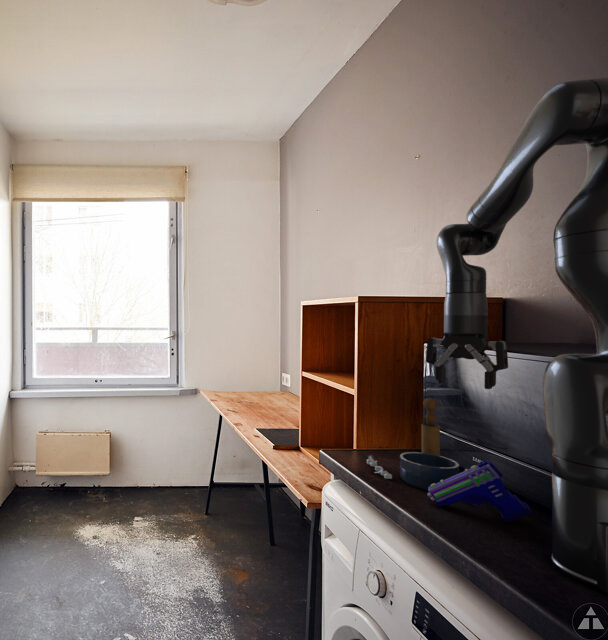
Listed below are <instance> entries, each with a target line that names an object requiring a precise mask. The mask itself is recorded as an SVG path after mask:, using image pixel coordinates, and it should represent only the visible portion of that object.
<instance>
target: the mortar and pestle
mask: <svg viewBox="0 0 608 640" xmlns="http://www.w3.org/2000/svg"><path fill="white" fill-rule="evenodd" d="M422 405H423V407H424V408H425V410H426V414H425V415H424V416H425V420H426V422H423V423H421V424H420V425H421V453H427V454H433V455H438V456H441V426H440V425H439V424H436V420H437V416H436V415H435V411H436V410H437V408H438V405H439V404H438V401H437V400H436V399H435V398H431V397H427V398H425V399H423V401H422Z"/></svg>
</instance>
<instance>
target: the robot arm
mask: <svg viewBox="0 0 608 640" xmlns="http://www.w3.org/2000/svg"><path fill="white" fill-rule="evenodd" d="M570 145H585V147H586V152H587V161H586V162H587V163H586V173H585V177H584V180H583V182H582V184H581V186H580V187H579V189H578V190H577V192H576V193H575V195H574V196H573V197H572V198H571V200H570V201H569V202H568V204H567V205H566V207H565V208H564V209H563V211H562V212H561V214H560V216H559V217H558V219H557V220H556V222H555V224H554V228H553V229H552V248H553V265H554V270H555V274H556V275H557V277H558V279H559V281H560V282H561V284H562V285H563V286H564V287H565V289H566V290H567V291H568V293H569V294H570V295H571V296H572V297H573V298H574V299H575V301H576V302H577V303H578V304H579V305H580V306H581V308H582V309H583V311H585V313H586V314H587V316H588V318H589V319H590V322H591V325H592V327H593V331H594V337H595V344H596V346H595V347H596V353H563V354H560V355H557V356H555V357H553V358H552V359H551V360H550V361H549V362H548V363H547V365H546V367H545V369H544V372H543V377H542V393H543V407H544V418H545V429H546V434H547V436H548V438H549V441H550V444H551V539H552V541H551V544H552V545H551V547H552V549H551V551H552V553H551V565H553V567H555V568H556V569H557V570H558V571H560V572H561V573H562V574H564V575H566V576H568V577H570V578H572V579H574V580H576V581H578V582H581V583H583V584H585V585H587V586H591V587H593V588H596V589H598V590H600V591H602V592H603V593H605V594H608V423H607V417H608V76H607V77H596V78H588V79H586V78H585V79H576V80H570V81H565V82H561V83H558V84H556V85H554V86H552V87H551V88H550V89H549V90H547V91H546V92H545V93H544V95H542V97H540V99H539V100H538V102H537V103H536V104H535V105H534V107H533V109H532V110H531V111H530V113H529V115H528V116H527V118H526V120H525V122H524V123H523V124H522V126H521V129H520V130H519V132H518V134H517V136H516V138H515V139H514V141H513V143H512V144H511V146H510V148H509V150H508V151H507V153H506V156H505V157H504V159H503V161H502V163H501V164H500V167H499V169H498V170H497V172H496V174H495V175H494V176H493V178H492V180H491V181H490V182H489V184H488V185H487V186H486V187H485V189H484V190H483V191H482V193H481V194H480V195H479V196H478V197H477V199H476V200H475V201H474V202H473V203H472V205H471V206H470V207H469V209H468V210H467V212H466V216H465V218H466V221H467V223H451V224H447V225H445V226H443V227H442V228H441V229H440V231H439V232H438V234H437V236H436V243H435V244H436V249H437V252H438V255H439V258H440V260H441V264H442V268H443V272H444V274H445V296H444V297H445V298H444V301H443V302H444V303H443V338H437V337H429V338H427V341H426V352H425V353H426V354H425V363H427V364H430V365H432V366H434V368H435V370H434V371H435V372H434V373H435V374H434V375H435V376H434V378H435V380H436V381H437V383H438V384H445V383H446V381H447V378H446V376H447V375H446V374H447V367H446V364H447V363H448V362H450V360H452V359H453V358H454V359H465V360H476V361H477V362H478V363H479V364H480V365H481V366H482V367H483V368H484V369H485V370H486V371H484V389H485V390H492V389H493V388H494V387H495V386H496V384H497V372H498V371H502V370H507V369H508V368H509V357H508V356H509V355H508V343H507V341H505V340H497V341H489V338H488V314H489V308H488V307H489V305H488V296H487V270H486V269H485V268H484V266H483V267H482V266H480V265H475V264H470V263H468V262H467V261H466V259H465V258H464V257H465V256H467V257H468V256H482V255H486V254H488V253H490V252H491V251H493V250H494V249H495V248H496V247H497V245H498V243H499V241H500V238H501V237H502V234H503V233H504V230H505V228H506V226H507V224H508V223H509V222H510V221H511V220H512V219H513V218H514V216H516V215H517V213H519V212H520V210H521V209H523V207H524V206H525V205H526V204H527V202H528V201H529V199H530V198H531V196H532V194H533V191H534V169H535V166H536V163H537V162H539V160H540V158H541V157H543V156H544V155H545V154H546V153H547V152H548V151H549V150H551V149H552V148H553V147H555V146H570ZM441 345H442V347H443V348H444V349H445V351H444V352H443V353H442V354H441V355H440V356H439V358H438V359H437V355H438V348H440V347H441ZM489 348H491V350H492V351H493V352H495V361H496V363H494V362H493V361H492V359H491V358H490V356H489V355H488V354H487V353H486V351H487V349H489Z"/></svg>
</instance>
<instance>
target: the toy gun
mask: <svg viewBox="0 0 608 640" xmlns="http://www.w3.org/2000/svg"><path fill="white" fill-rule="evenodd" d="M502 477H504V476H503V473H502V472H501V471H500V470H499V469H498V468H497V466H495V464H494V463H493V462H492V461H491V460H488V459H484V460H482V461H479V462H477V463H476V464H474V465H472V466H470V468H469V469H468V468H465V469H464V470H463V471H461V472H459V474H457V475H454V476H452V477H450V478H448V479H445V480H440V481H441V482H439V483H436V484H435V483H433V484H431V486H430V487H428V490H427V491H428V492H427V496H428V497H429V498H430V501H435V504H436V506H437V507H438V508H439V507H442V506H444V505H445V506H446V507H448V506H451V505H453V504H456V503H458V502H465V503H466V504H467V505H470V506H474V505H477V506H480V505H483V504H489V505H490V506H491V507H492V508H494V507H495V508H496V510H497V511H498V512H499V514H500V517H501V519H502V520H503V521H504V523H510V522H512V521H515V520H518V519H521V518H523V517H527V516H529V515H530V514H532V510H531V508H530V505H528V503H527V502H526V501H521V499H520V498H519V497H518V496H517V495H516V494H512V493H511V492H510V490H508V489H506V486H505V483H504V481H503V479H502Z"/></svg>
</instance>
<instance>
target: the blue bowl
mask: <svg viewBox="0 0 608 640" xmlns="http://www.w3.org/2000/svg"><path fill="white" fill-rule="evenodd" d="M459 473H460V463H458V462H457V461H456V460H454V459H452V458H448V457H446V456H442V455H440V456H438V455H433V454H427V453H422V452H417V451H411V452H410V451H408V452H402V453H401V454H400V455H399V476H400V478H401V479H402V481H403V482H405V483H406V484H408V485H410V486H412V487H414V488H416V489H417V488H418V489H422V490H425V491H428V487H430V486H431V484H433V483H435V484H436V483H439V482H441V481H440V480H445V479H448V478H450V477H452V476H454V475H457V474H459Z"/></svg>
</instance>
